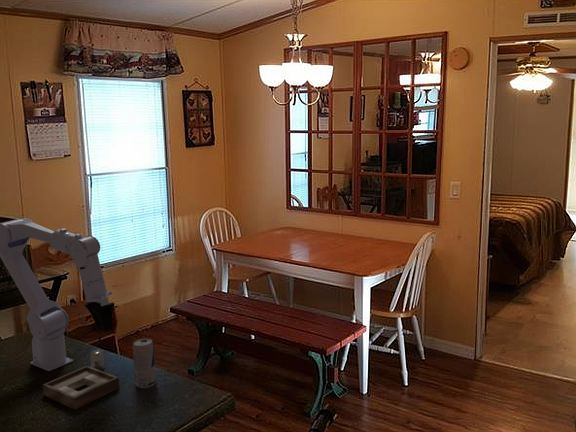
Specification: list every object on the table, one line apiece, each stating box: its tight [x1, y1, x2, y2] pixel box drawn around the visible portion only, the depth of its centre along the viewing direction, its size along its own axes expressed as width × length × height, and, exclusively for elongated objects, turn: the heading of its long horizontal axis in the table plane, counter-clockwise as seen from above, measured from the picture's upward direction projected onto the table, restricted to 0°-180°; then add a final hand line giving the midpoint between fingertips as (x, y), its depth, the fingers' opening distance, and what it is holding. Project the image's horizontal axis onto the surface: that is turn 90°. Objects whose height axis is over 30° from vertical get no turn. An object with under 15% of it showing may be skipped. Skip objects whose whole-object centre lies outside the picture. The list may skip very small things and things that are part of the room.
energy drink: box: [132, 337, 157, 389], centre depth 151 cm, size 5×5×12 cm
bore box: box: [42, 365, 120, 411], centre depth 149 cm, size 13×13×3 cm
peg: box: [89, 349, 105, 371], centre depth 162 cm, size 4×4×5 cm
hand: (104, 327), depth 157 cm, fingers open, 7 cm apart
